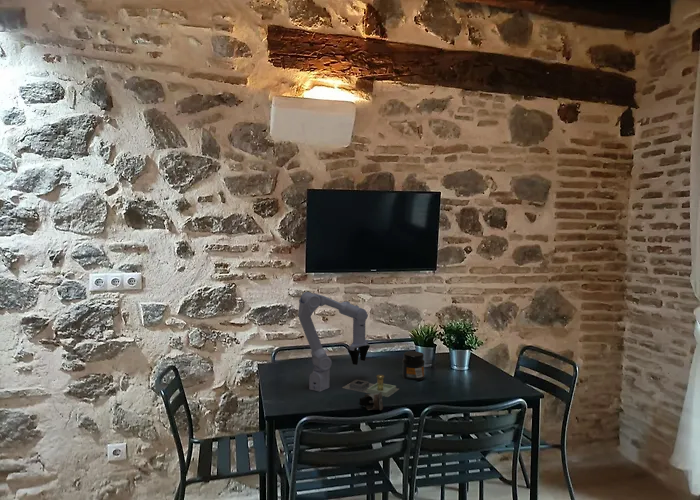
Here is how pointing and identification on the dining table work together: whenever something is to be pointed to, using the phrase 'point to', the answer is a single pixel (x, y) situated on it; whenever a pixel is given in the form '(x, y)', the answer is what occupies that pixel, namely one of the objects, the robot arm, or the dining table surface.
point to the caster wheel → (372, 401)
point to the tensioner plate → (366, 389)
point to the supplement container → (413, 365)
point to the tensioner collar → (359, 384)
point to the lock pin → (380, 382)
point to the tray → (386, 389)
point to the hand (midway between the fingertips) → (359, 362)
